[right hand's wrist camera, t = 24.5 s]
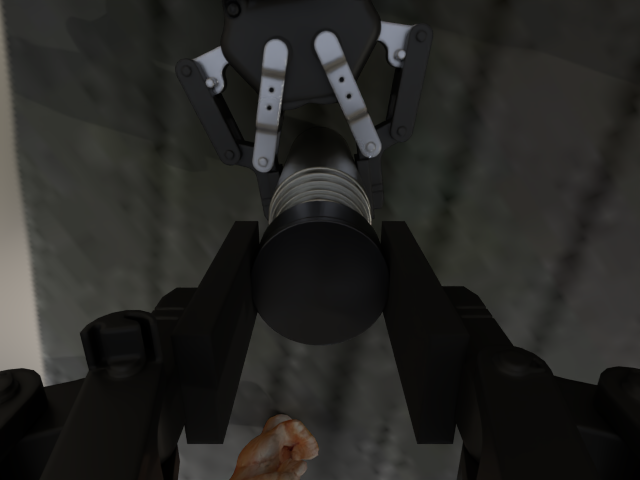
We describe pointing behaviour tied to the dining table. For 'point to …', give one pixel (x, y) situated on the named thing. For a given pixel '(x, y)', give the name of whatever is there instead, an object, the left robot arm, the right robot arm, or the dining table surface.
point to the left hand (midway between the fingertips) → (326, 219)
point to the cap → (320, 274)
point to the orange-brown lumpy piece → (277, 451)
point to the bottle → (320, 174)
